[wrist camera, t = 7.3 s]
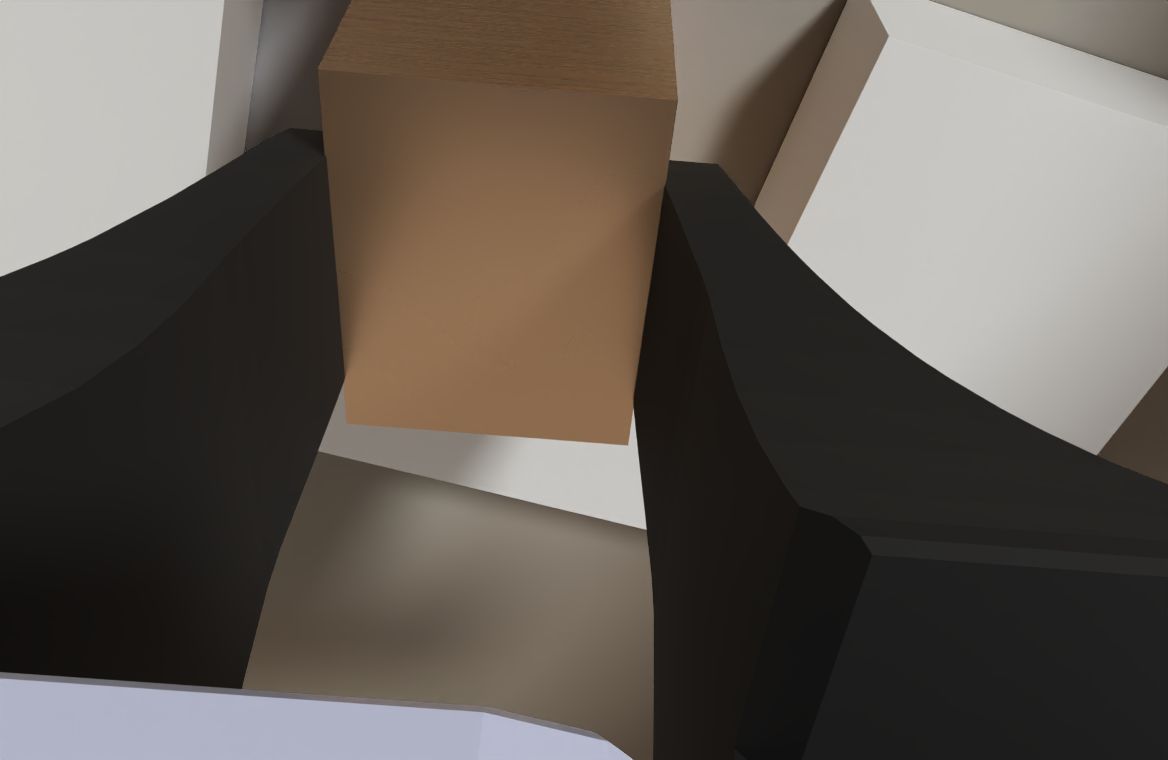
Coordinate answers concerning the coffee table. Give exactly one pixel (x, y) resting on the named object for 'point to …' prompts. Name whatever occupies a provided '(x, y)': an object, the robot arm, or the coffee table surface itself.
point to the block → (497, 209)
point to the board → (787, 203)
